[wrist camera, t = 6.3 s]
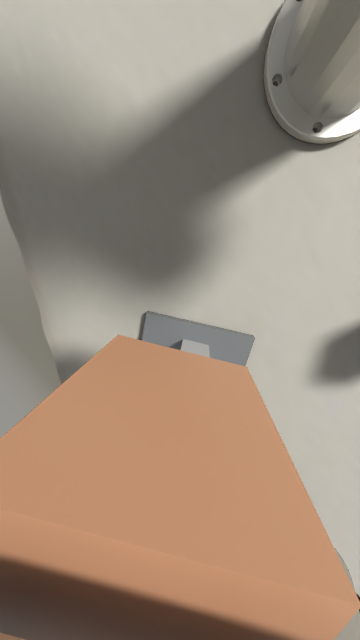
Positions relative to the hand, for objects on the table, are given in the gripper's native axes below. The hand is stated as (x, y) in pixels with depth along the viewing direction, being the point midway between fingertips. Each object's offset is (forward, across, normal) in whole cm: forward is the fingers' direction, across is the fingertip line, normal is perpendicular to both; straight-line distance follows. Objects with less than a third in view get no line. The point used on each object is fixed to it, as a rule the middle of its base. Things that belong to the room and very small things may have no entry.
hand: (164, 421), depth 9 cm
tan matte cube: (+1, 0, 0) cm, 1 cm away
